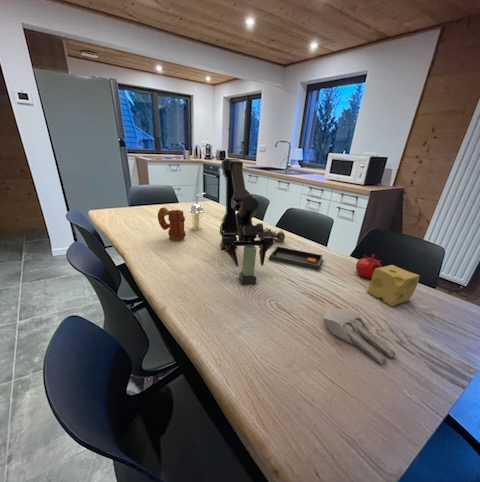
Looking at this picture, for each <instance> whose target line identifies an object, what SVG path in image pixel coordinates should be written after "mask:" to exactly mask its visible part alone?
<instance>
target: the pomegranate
mask: <svg viewBox="0 0 480 482" xmlns="http://www.w3.org/2000/svg"><path fill="white" fill-rule="evenodd" d="M363 256H364V257H363V258H360V259H358V260H357V262H356V264H355V270H356V272H357V274H358V275H359V276H360V277H363V278H365V279H369V280H370V279H372V276H373V273H374V270H375V268H381V267H383V266H382V262H383V261H382V260H381V259H375V257H376V254H375V253H372V254H371V257H369V256H366V255H363Z"/></svg>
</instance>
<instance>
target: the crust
mask: <svg viewBox="0 0 480 482" xmlns="http://www.w3.org/2000/svg"><path fill="white" fill-rule="evenodd" d="M315 262H316V259H314V258H309V257H308V259H307V263H310V264H315Z"/></svg>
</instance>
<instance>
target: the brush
mask: <svg viewBox="0 0 480 482" xmlns="http://www.w3.org/2000/svg"><path fill="white" fill-rule="evenodd" d="M242 254H243V257H242V268H241V270H239V272H238V273H239V274H238V279H239V281H240V283H241V285H242V286H246V285H247V286H248V285H256V283H257V275H256V274H255V267H256V258H257V246H254V245H244V246H243V253H242Z"/></svg>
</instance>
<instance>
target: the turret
mask: <svg viewBox="0 0 480 482" xmlns="http://www.w3.org/2000/svg"><path fill="white" fill-rule="evenodd" d="M322 321H323V323H324V325H325V326H326V328H327V329H328V330H329V331H330V333H331V334H333V335H334V336H336V337H337V338H340V339H342V340H344V341H346V342H348V343H350V344H351V345H355V346H358V347H359V348H361V349H363V350H364V352H366V354H368V355H369V356H370V357H371V358H373V360H375V361H376V362H377V363H378V364H381V365H383V364H384V362H387V361H388V360H387V359H386V357H384V356H383V355H382V354H381V353H380V352H379V351H377V350H376V349H375V348H374V347H372V346H371V345H370V344H369V343H367V341H368V342H370V343H371V344H373V346H375V347H377V348H378V349H379V350H380V351H381V352H383V353H384V354H385V355H386V356H387V357H389V358H391V359H392V358H393V357H394V356H396V352H395V350H393V349H391V348H390V346H388V345H387V344H386V343H384V342H383V341H381V340H380V339H379V338H378V337H377V336H375V335H374V334H373V333H372V332H371V331H370V329H369V328H368V326H367V324H366V323H365V322H364V320H363V318H362V317H361V316H360V313H358V312H357V311H356V310H353V309H347V308H336V307H335V308H334V307H327V308H326V311H325V313H324V314H323V317H322Z"/></svg>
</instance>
